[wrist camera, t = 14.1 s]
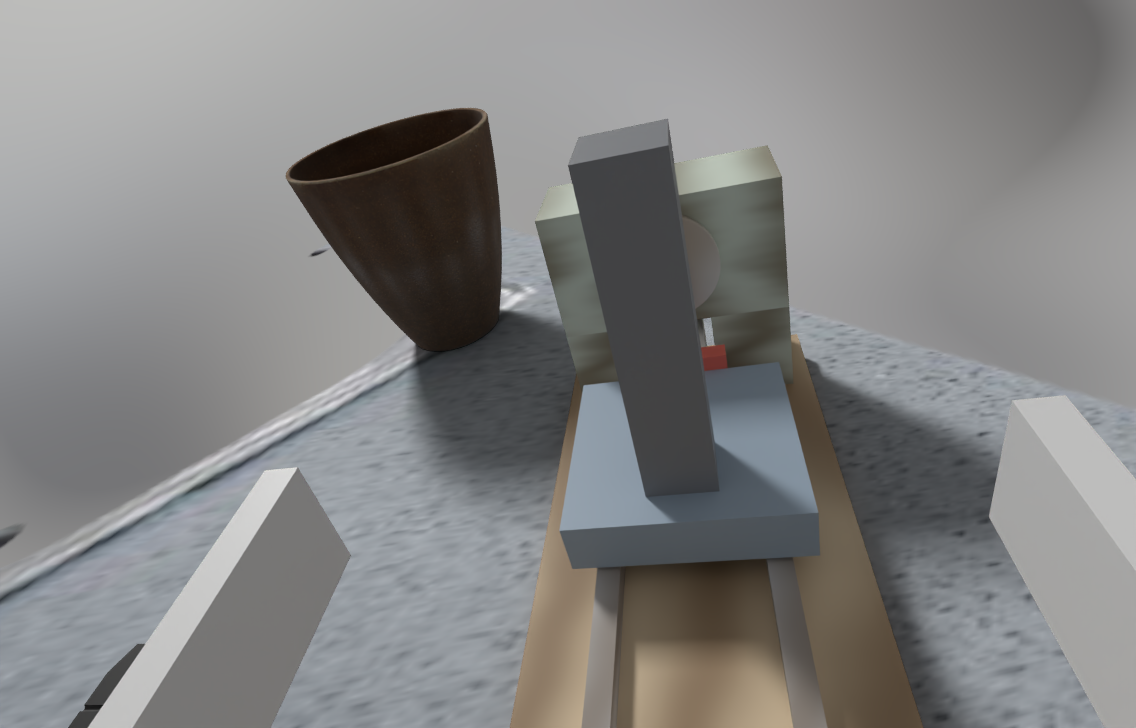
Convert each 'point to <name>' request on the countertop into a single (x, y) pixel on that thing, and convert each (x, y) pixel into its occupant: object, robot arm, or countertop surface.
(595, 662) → the rail track
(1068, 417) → the robot arm
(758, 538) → the carriage
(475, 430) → the countertop surface
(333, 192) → the plant pot
